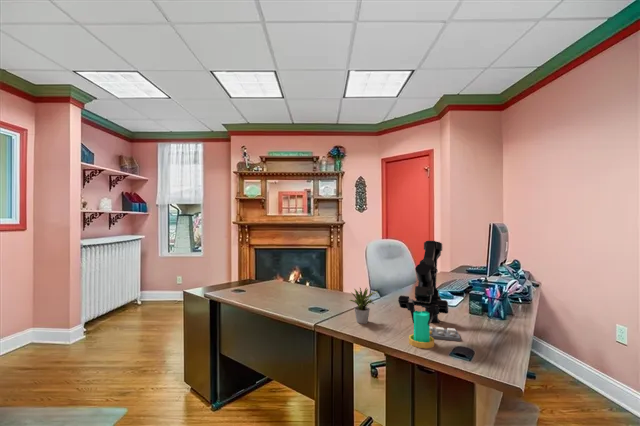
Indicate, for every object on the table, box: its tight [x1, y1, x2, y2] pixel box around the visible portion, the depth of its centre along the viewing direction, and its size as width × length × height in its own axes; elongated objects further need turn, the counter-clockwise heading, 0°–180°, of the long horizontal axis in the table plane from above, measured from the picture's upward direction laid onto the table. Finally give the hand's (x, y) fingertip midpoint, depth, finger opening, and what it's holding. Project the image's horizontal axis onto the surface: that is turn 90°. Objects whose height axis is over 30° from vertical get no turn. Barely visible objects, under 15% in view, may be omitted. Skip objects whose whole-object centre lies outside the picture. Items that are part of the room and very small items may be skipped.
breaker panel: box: [430, 326, 461, 342], centre depth 127 cm, size 9×14×2 cm, turn 74°
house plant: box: [349, 287, 378, 325], centre depth 143 cm, size 14×14×16 cm
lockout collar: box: [408, 333, 435, 349], centre depth 119 cm, size 9×9×2 cm
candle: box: [413, 308, 431, 342], centre depth 119 cm, size 6×6×12 cm
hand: (420, 323), depth 118 cm, fingers closed on candle, 5 cm apart
